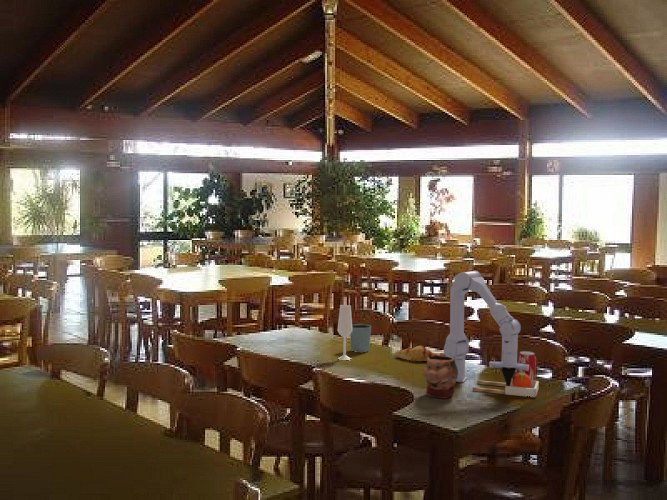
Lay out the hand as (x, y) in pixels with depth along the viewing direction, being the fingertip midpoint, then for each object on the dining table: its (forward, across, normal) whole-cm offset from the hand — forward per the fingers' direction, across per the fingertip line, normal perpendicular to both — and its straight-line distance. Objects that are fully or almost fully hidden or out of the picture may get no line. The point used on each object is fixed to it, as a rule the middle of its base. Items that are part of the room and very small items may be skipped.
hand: (508, 387), depth 290 cm
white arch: (+1, +5, 0) cm, 5 cm away
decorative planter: (+1, -23, -16) cm, 28 cm away
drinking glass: (+1, -74, +48) cm, 88 cm away
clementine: (+1, +5, 0) cm, 5 cm away
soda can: (+1, +5, +15) cm, 16 cm away
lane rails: (+1, -6, 0) cm, 7 cm away
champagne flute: (+1, -75, +28) cm, 80 cm away
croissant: (+2, -44, +40) cm, 60 cm away
